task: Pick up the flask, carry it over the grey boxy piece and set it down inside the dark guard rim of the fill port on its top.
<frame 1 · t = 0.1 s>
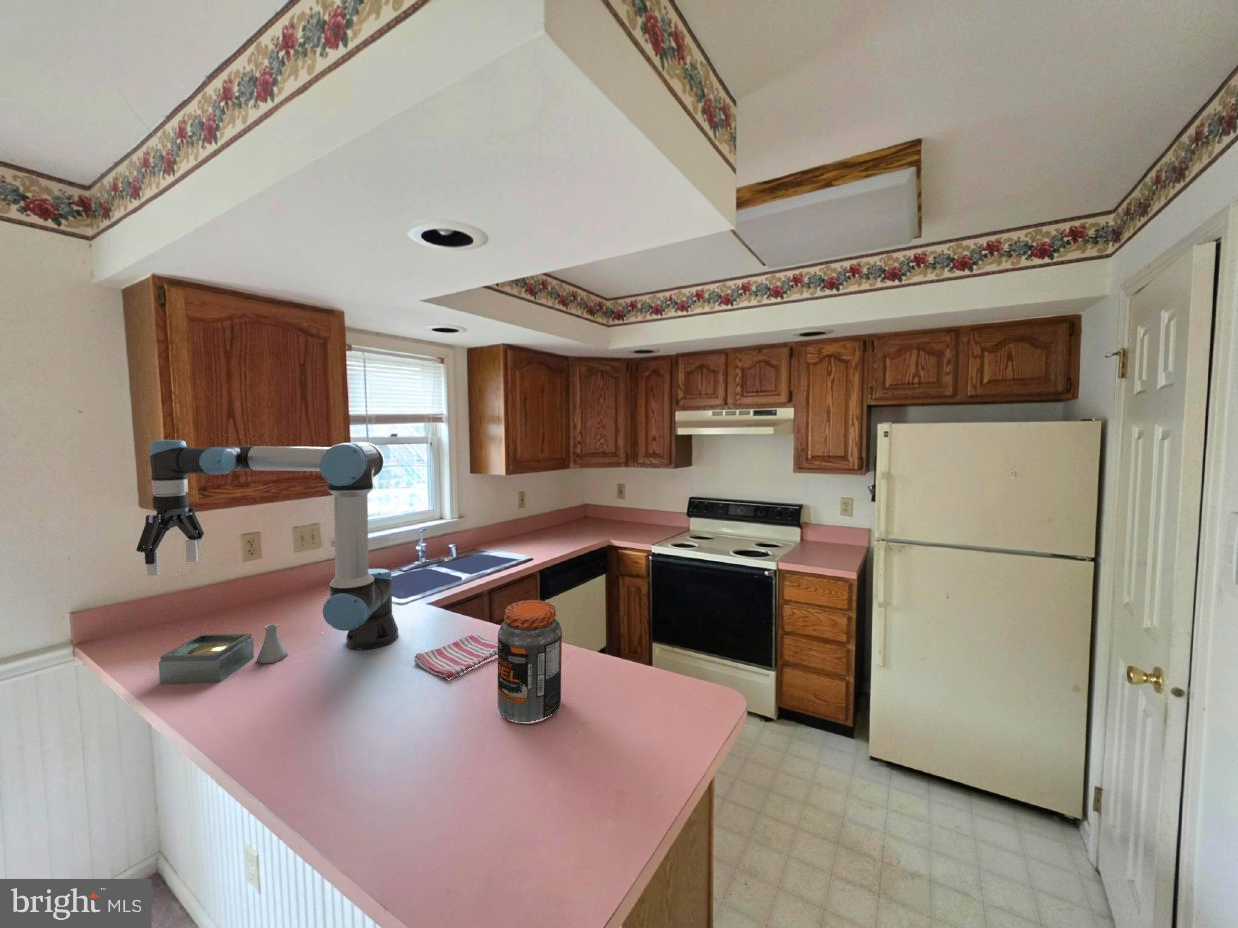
hand: (173, 567, 140), 28 cm above the worktop, fingers open, 13 cm apart
flask: (272, 659, 145), on the worktop
grey boxy piece: (209, 669, 138), on the worktop
dish towel: (463, 659, 148), on the worktop
supplement tub: (529, 709, 123), on the worktop
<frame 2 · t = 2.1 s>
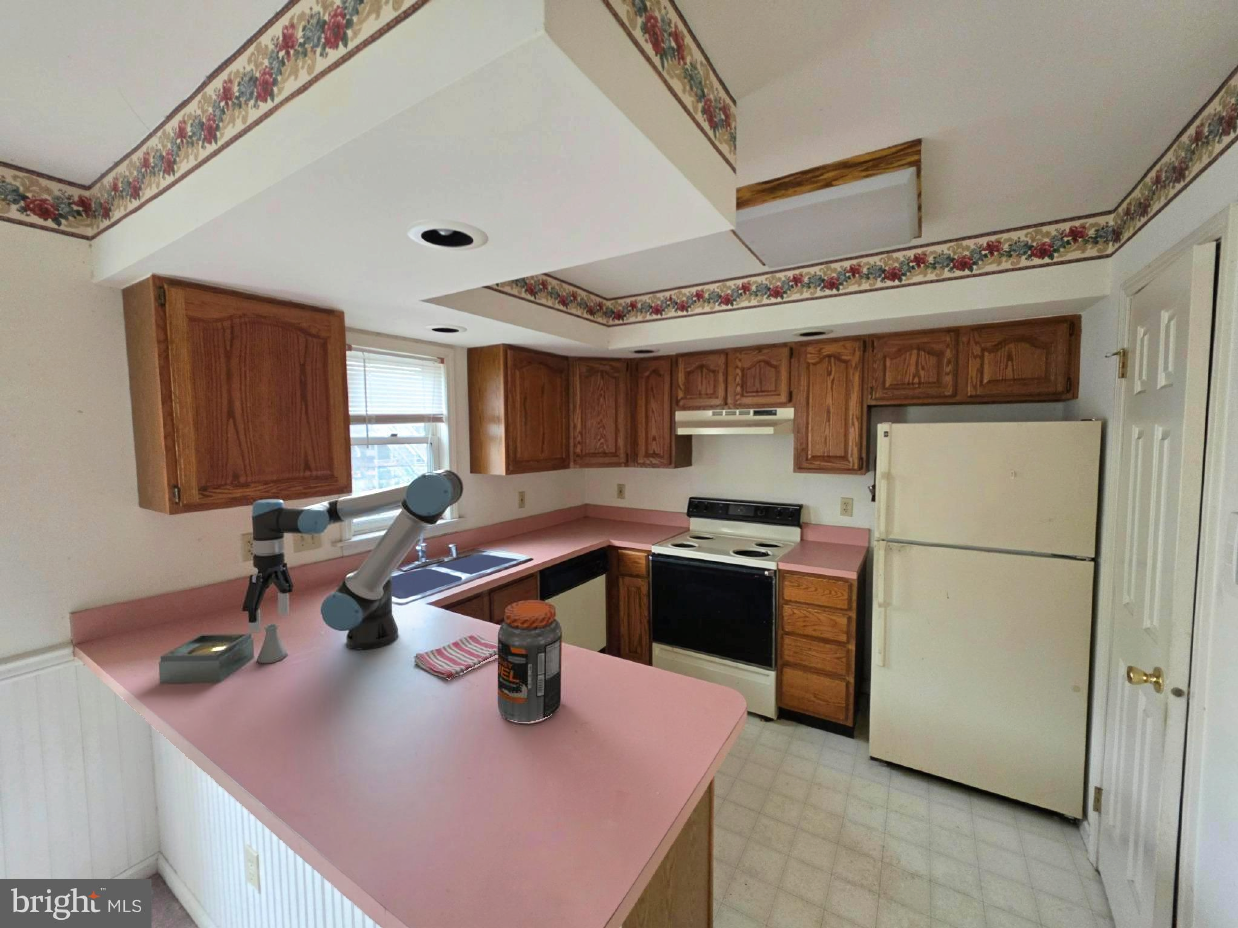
hand: (270, 622, 145), 11 cm above the worktop, fingers open, 13 cm apart
nothing on the worktop moved.
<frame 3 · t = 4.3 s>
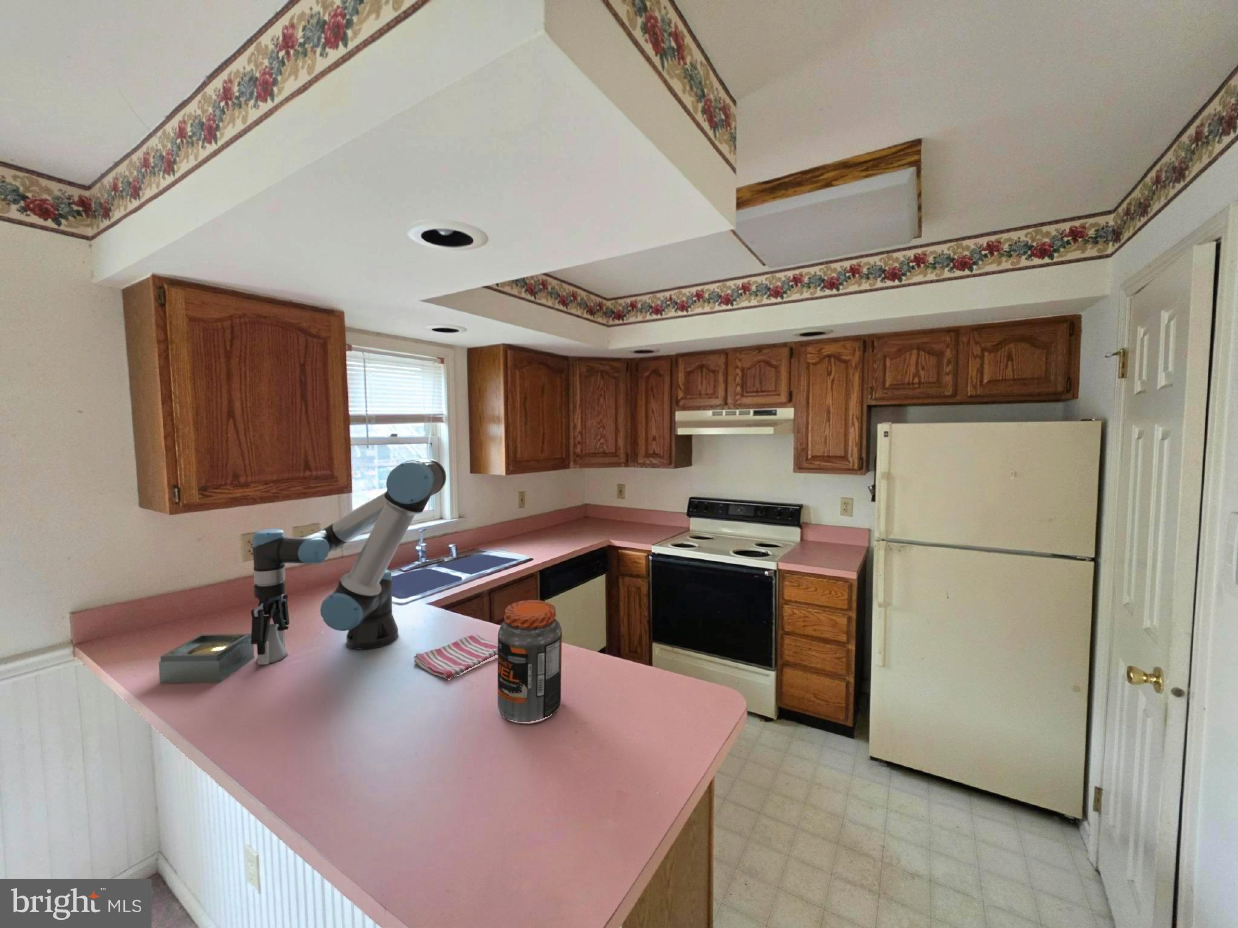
hand: (271, 657, 145), 0 cm above the worktop, fingers closed on flask, 7 cm apart
flask: (272, 658, 145), on the worktop, touching gripper
everything else where it was.
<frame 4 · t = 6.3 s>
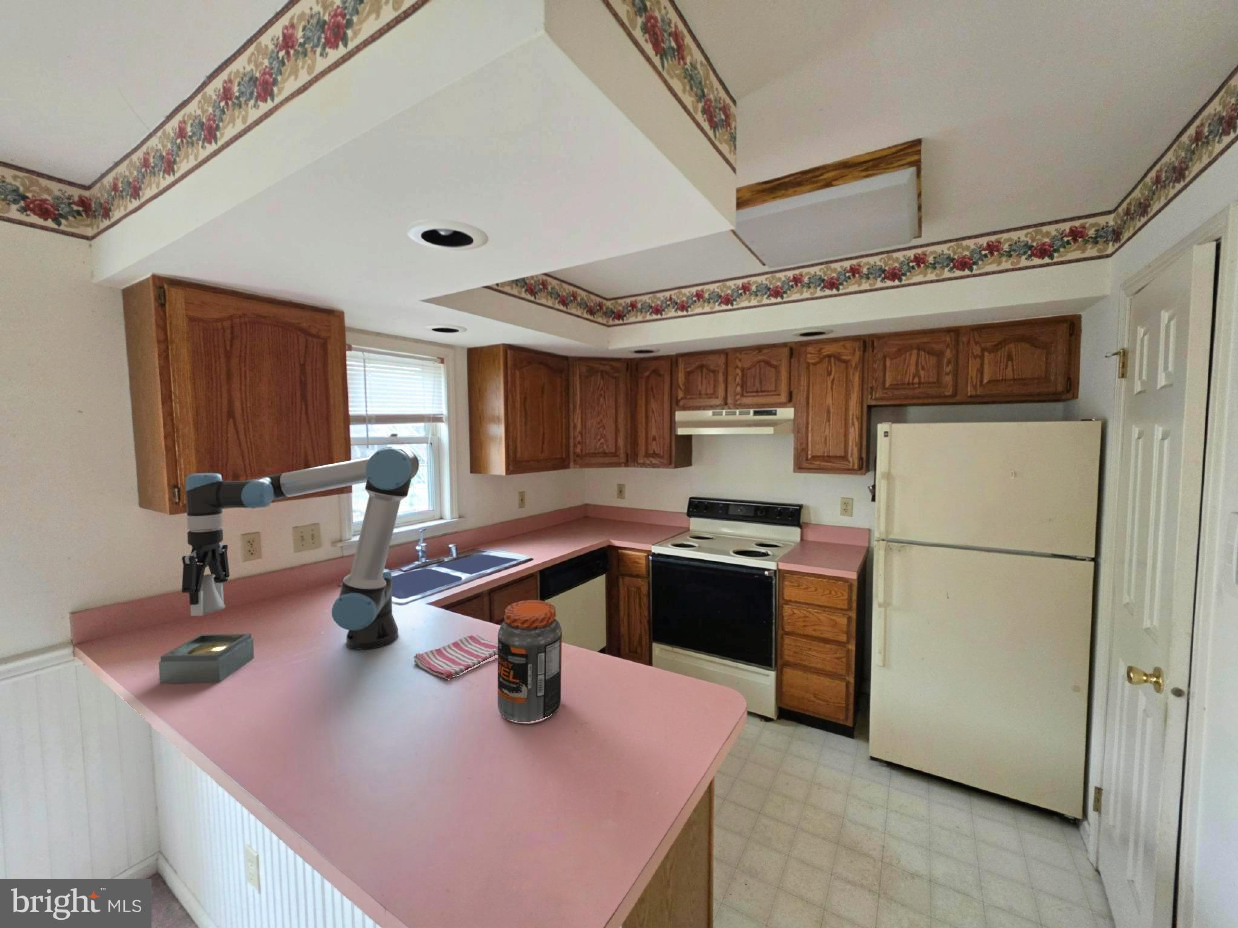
hand: (207, 609, 137), 17 cm above the worktop, fingers closed on flask, 7 cm apart
flask: (208, 611, 137), point 17 cm above the worktop, touching gripper
everything else where it was.
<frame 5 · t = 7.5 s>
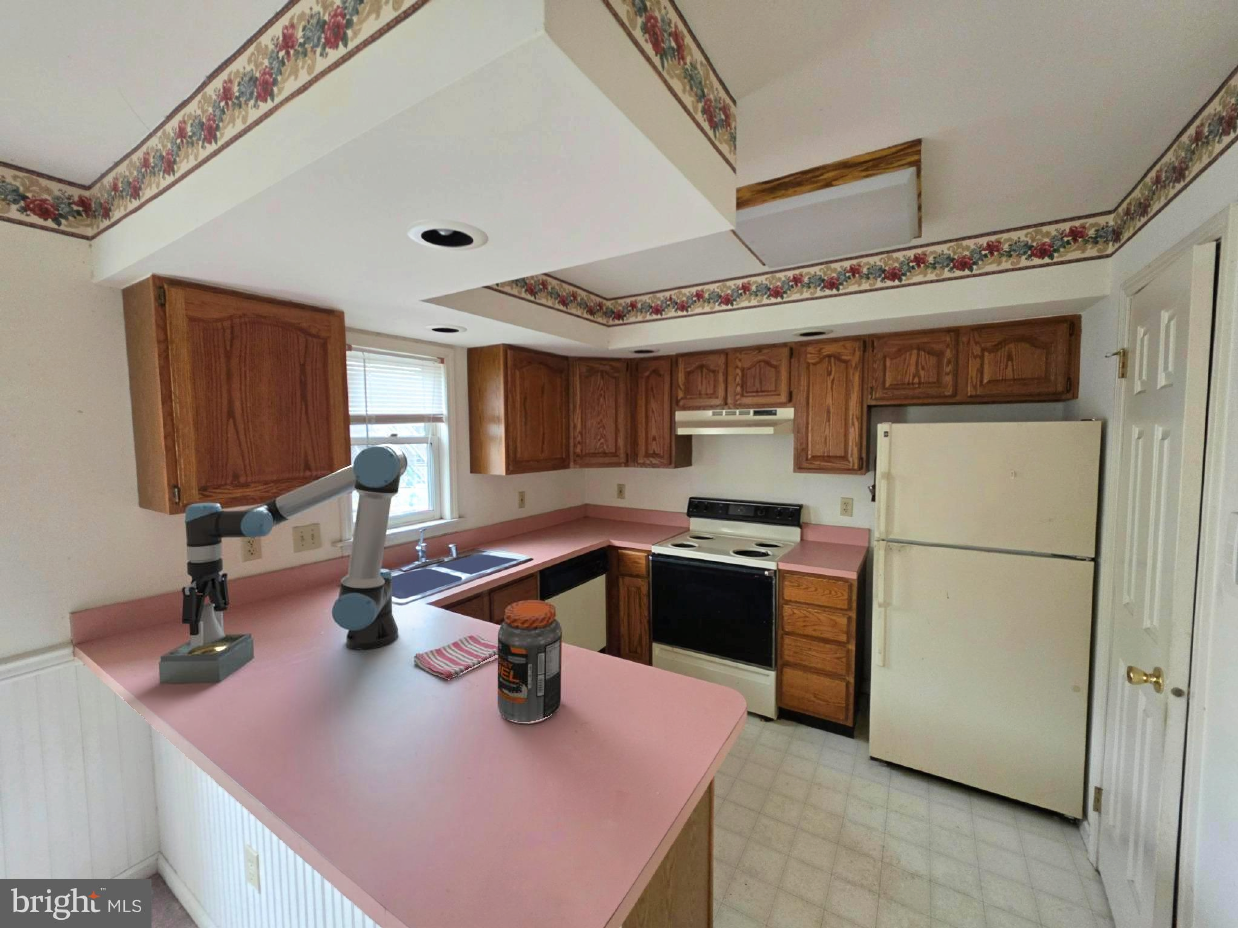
hand: (207, 639, 137), 9 cm above the worktop, fingers closed on flask, 7 cm apart
flask: (208, 640, 137), point 9 cm above the worktop, touching gripper
everything else where it was.
when the fingers open (8 cm above the worktop, at t = 8.4 s): flask drops 2 cm, resting on grey boxy piece.
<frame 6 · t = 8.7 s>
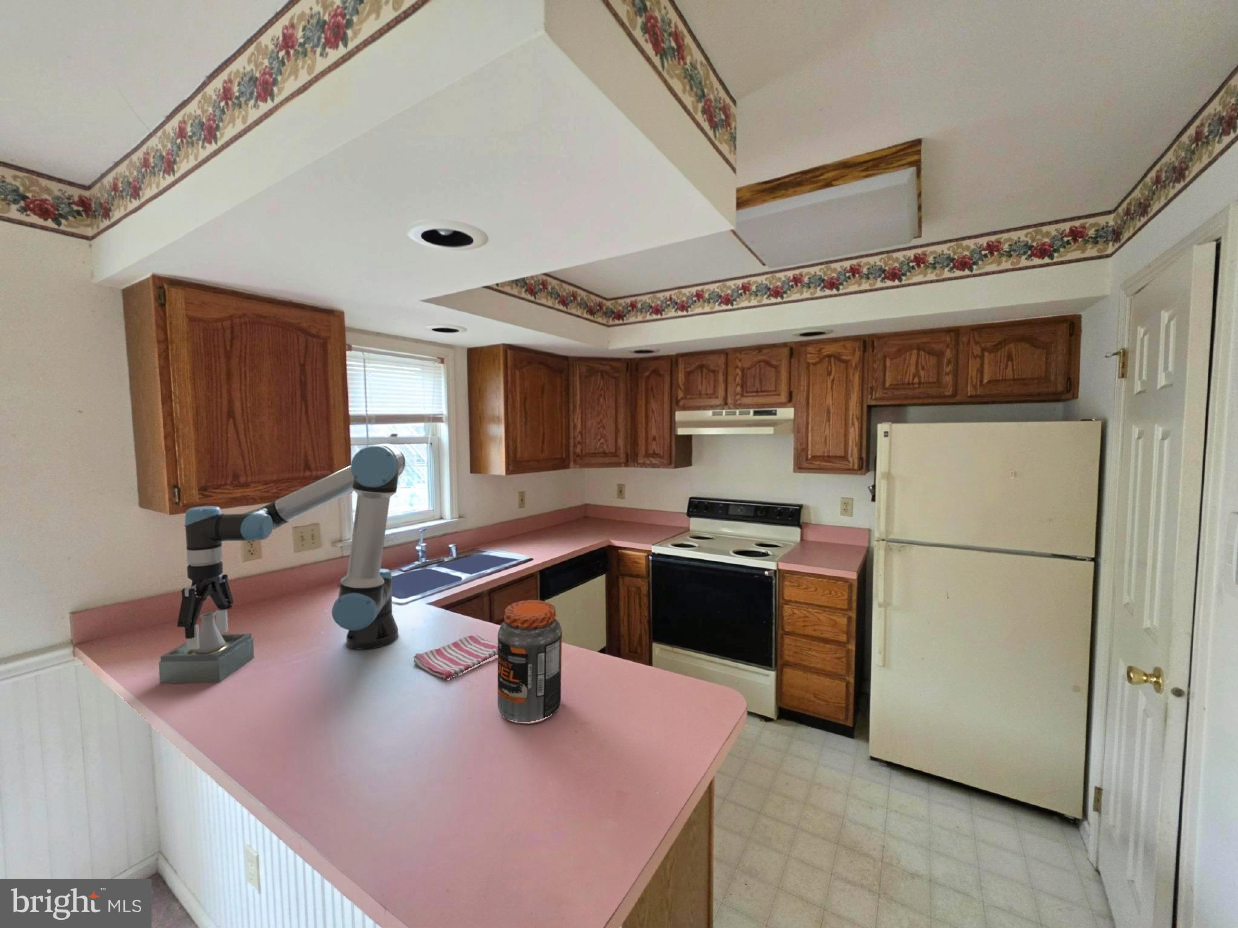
hand: (208, 639, 137), 9 cm above the worktop, fingers open, 10 cm apart
flask: (209, 649, 137), point 6 cm above the worktop, touching grey boxy piece
everything else where it was.
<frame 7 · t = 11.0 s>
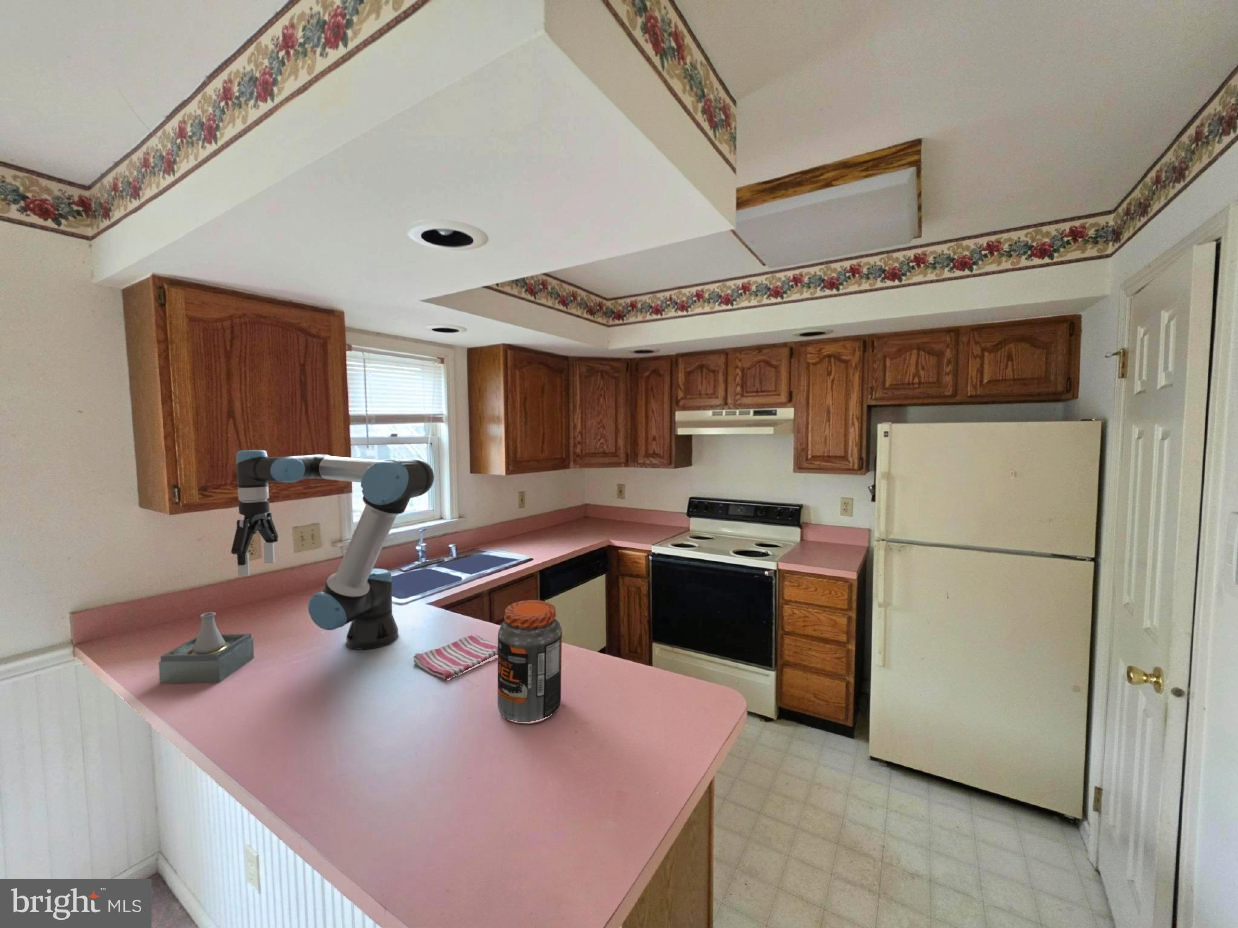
hand: (257, 568, 151), 25 cm above the worktop, fingers open, 13 cm apart
nothing on the worktop moved.
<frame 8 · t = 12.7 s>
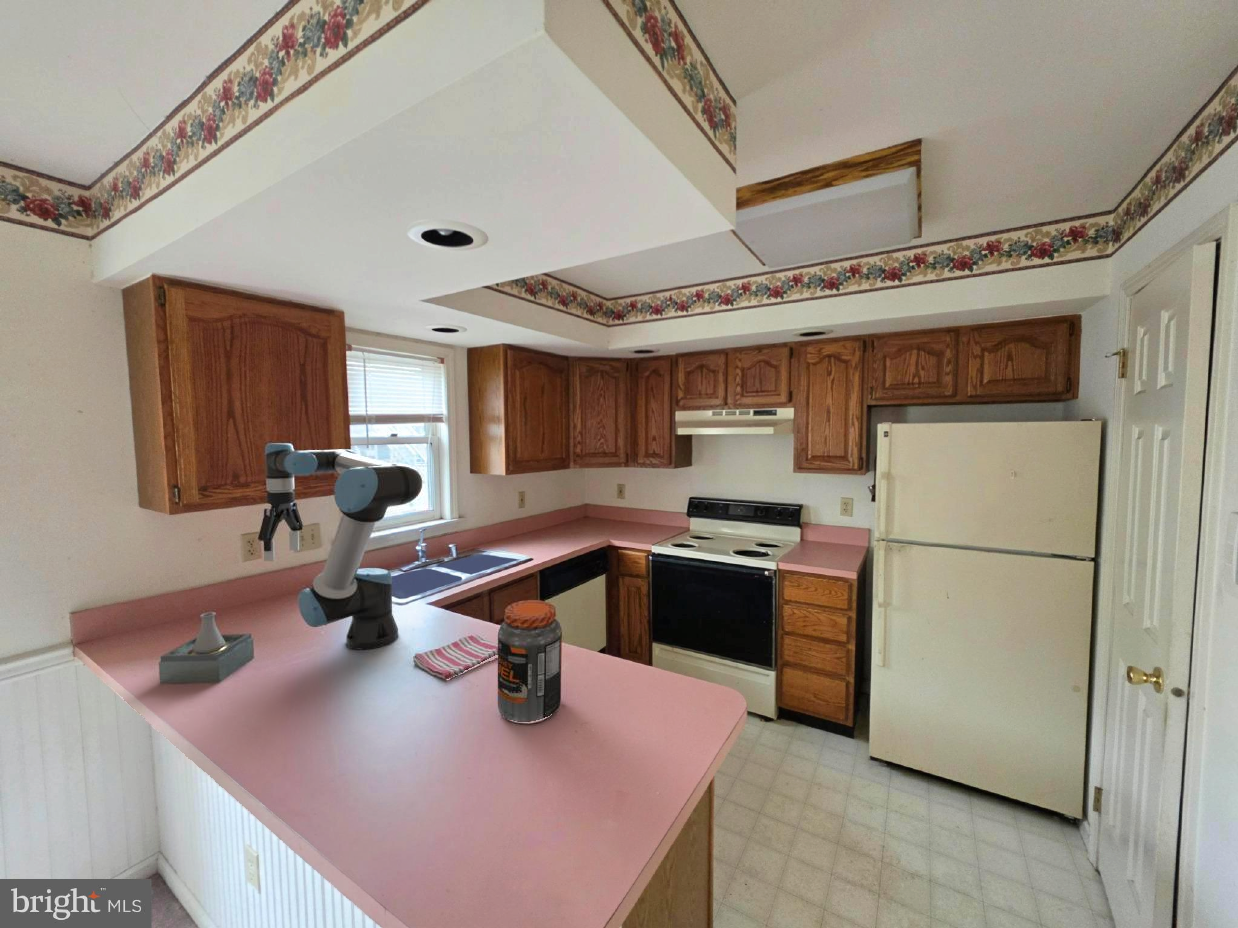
hand: (282, 555, 160), 27 cm above the worktop, fingers open, 13 cm apart
nothing on the worktop moved.
at the end: flask inside the target area on the grey boxy piece (0.2 cm from its centre), point 6.0 cm above the grey boxy piece's base; flask tilted 0°; the gripper is holding nothing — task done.
